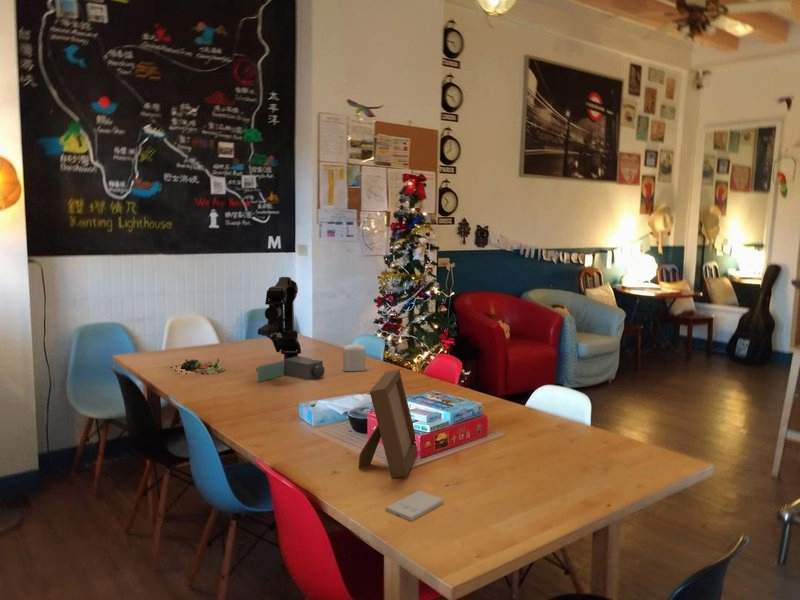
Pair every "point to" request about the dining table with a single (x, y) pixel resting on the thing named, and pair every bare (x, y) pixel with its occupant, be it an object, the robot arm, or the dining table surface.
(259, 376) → the grey-green bar
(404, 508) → the external hard drive
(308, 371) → the large grey box
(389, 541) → the dining table surface
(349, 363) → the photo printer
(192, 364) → the plated dish
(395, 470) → the photo frame
